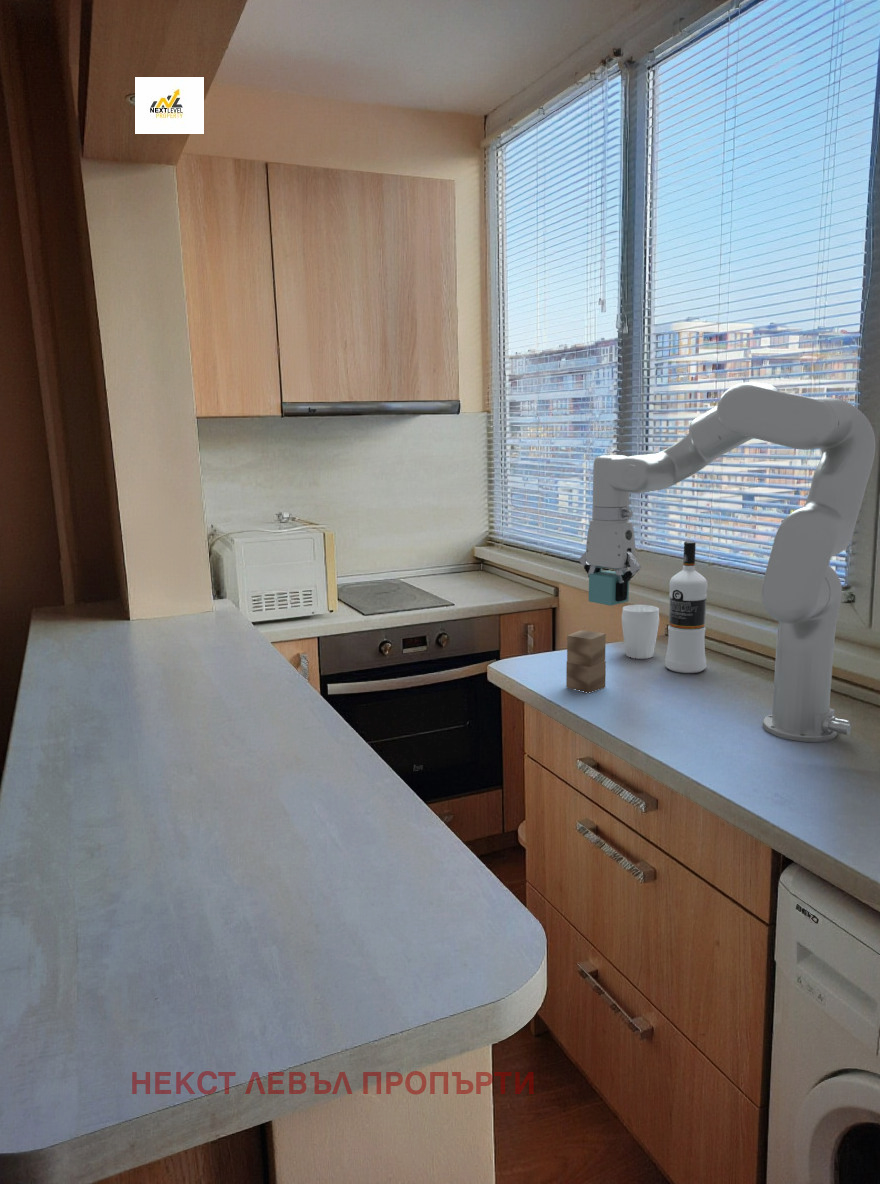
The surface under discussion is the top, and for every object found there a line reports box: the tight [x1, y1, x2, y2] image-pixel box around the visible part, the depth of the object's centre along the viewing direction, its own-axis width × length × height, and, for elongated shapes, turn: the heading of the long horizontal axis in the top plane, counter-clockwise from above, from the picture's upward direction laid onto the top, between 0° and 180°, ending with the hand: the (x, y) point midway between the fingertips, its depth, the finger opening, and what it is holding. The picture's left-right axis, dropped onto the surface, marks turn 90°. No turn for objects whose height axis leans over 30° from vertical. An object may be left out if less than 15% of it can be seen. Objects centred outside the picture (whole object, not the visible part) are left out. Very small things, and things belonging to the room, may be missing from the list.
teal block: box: [588, 570, 630, 607], centre depth 174 cm, size 6×6×6 cm
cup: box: [621, 604, 660, 660], centre depth 201 cm, size 9×9×12 cm
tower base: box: [565, 660, 607, 694], centre depth 178 cm, size 6×6×6 cm
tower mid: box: [566, 629, 607, 667], centre depth 177 cm, size 6×6×6 cm
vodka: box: [664, 540, 708, 674], centre depth 187 cm, size 9×9×30 cm
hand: (608, 597), depth 175 cm, fingers closed on teal block, 6 cm apart
